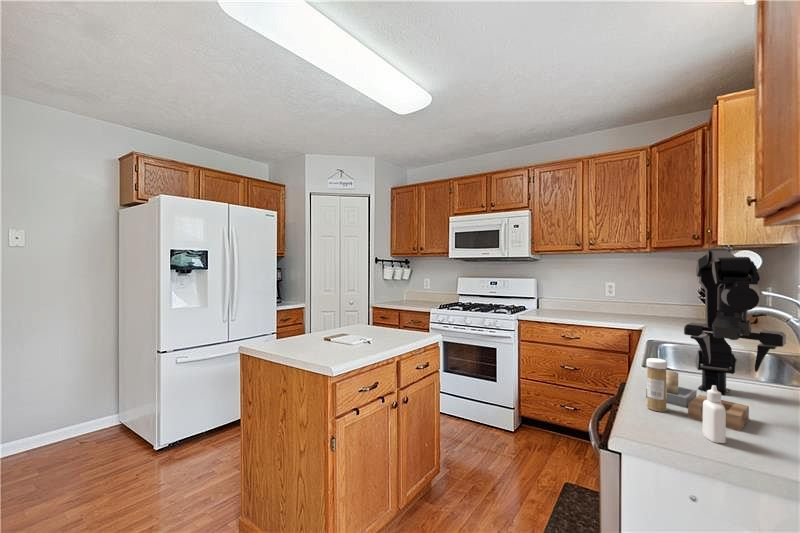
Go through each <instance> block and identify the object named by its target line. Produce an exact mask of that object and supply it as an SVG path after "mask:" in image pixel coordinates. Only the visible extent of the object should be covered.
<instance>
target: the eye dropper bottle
mask: <svg viewBox="0 0 800 533" xmlns="http://www.w3.org/2000/svg"><path fill="white" fill-rule="evenodd" d="M706 396H707V399H708V400H704V401H703V421H702V435H703V436H704V438H706V439H707V440H709V441H711V442H713V443H717V444H726V432H727V431H726V430H727V428H726V410H725V407H724V406H723V404H722V403H721V400H722V394H721V392H719V391H717V387H716V386H715V385H712V388H711V390H708V391H706Z"/></svg>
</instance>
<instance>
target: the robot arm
mask: <svg viewBox="0 0 800 533" xmlns="http://www.w3.org/2000/svg"><path fill="white" fill-rule="evenodd" d="M695 275H696V278H697V277H698V283H699V285H700V286H701V287H702V288H703V290H704V293H705V294H704V296H705V297H704V298H705V300H704V301H705V303H704V304H705V323H702V322H701V323H699V322H690V323H687V324H686V325H685V326H684V328H683V335H685V336H689V337H690V339H691V340H694V341H696V342H697V344H698V345H699V350H698V349H697V350H696V351H697V352H696V357H695V367H696V369H697V370H698V371H701V385H699V386H698V387H697V390H701V391H704V392H707V391H708V390H711V388H712V385H715V386H716V387H717V391H719V392H721V395H724V396H725V395H727V394H728V393H729V392H730V391H731V389H730V388H727V374H731V375H734V374H735V373H736V364H737V361H738V359H737V358H736V357H735V354H734V353H733V352H732V347H731V345H730V344H729V343H728V342H727V340H726V339H729V340H730V341H737V340H739V339H745V340H753V341H759V344H757V345H756V346H757V348H756V349H757V352H756V356H755V362H754V372H759V369H760V368H761V366H762V363H763V362H764V360H765V358H766V356H767V355H768V353H769V351H770V350H775V349H777V348H779V347H780V348H782V347H784V346H785V345H786V344H787V335H786V334H785V333H784V332H783V331H777V330H776V331H775V330H768V329H767V330H766V329H762V330H761V331H760V332H754V331H752V323H751V320H748V313H749V312H748V311H751V310H753V309H755V308H756V307H757V306H758V305H759V303H760V302H759V301H760V296H759V295H758V294H759V293H757V291H756V290H755V289H753V288H751V287H750V285H751V286H752V285H753V286H755V285H757V286H758V284H759V282H760V279H761V277H760V275H759V270H758V267H757V265H755V262H754V261H752V259H751V258H750V257H749V256H736V255H735V254H733V253H732V252H731V250H730V249H728V248H711V249H706V254H705V255H703V256H701V257H699V258H698V259H697V262H696V268H695Z"/></svg>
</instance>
